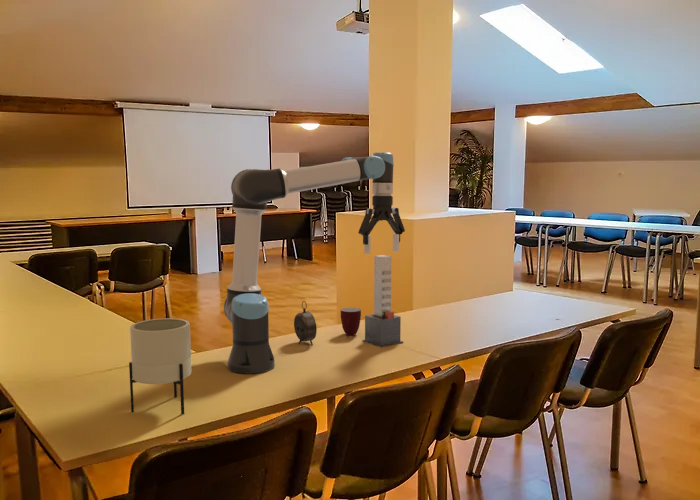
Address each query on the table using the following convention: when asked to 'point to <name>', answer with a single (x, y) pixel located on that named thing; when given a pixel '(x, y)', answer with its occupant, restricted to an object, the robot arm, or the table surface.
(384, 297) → the column
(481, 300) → the table surface
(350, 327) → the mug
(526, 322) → the table surface
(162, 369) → the planter
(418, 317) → the table surface
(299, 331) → the alarm clock
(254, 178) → the robot arm
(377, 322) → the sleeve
